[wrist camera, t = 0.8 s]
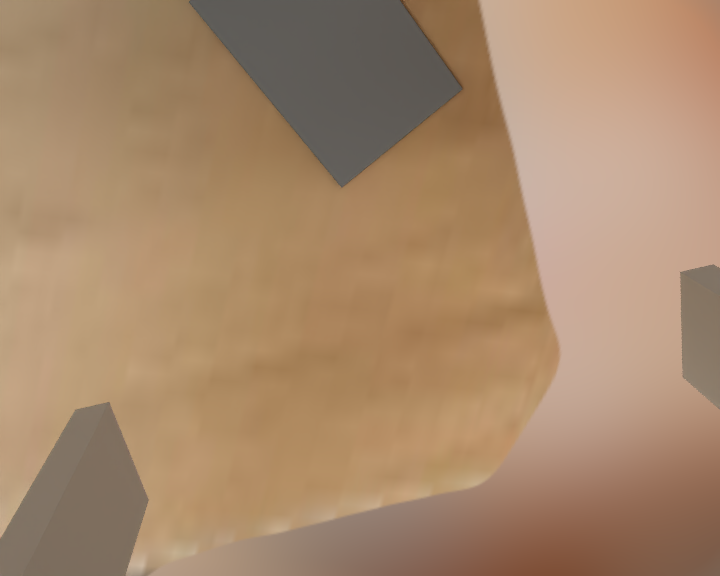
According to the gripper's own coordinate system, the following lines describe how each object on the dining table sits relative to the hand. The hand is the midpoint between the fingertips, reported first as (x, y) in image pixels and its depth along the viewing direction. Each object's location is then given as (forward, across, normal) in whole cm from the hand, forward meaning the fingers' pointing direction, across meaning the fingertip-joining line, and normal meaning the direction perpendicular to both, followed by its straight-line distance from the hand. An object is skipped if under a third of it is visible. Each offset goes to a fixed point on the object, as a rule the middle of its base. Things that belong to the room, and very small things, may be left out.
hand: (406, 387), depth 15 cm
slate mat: (+26, +1, +7) cm, 27 cm away
